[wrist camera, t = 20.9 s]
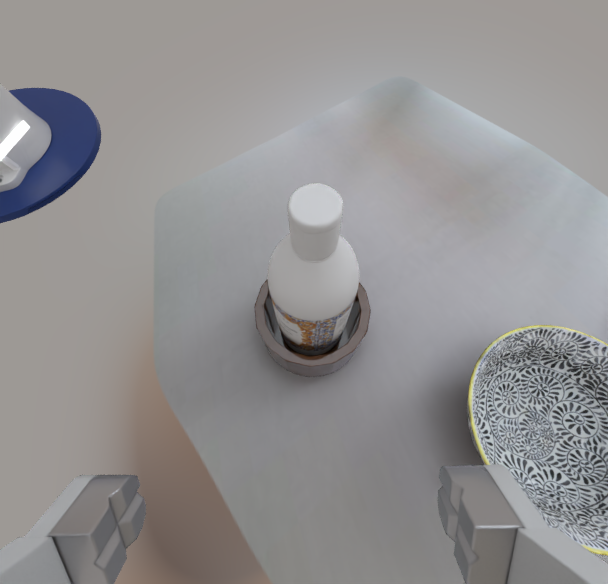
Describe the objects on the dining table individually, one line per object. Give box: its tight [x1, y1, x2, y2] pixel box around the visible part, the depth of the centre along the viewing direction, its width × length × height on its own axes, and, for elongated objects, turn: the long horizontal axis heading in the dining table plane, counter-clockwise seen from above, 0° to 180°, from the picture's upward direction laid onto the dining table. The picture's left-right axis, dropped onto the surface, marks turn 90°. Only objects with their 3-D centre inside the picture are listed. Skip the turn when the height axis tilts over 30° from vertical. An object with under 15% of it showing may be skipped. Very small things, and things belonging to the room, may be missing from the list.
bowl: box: [467, 325, 608, 555], centre depth 27 cm, size 16×16×8 cm
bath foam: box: [267, 183, 359, 356], centre depth 25 cm, size 7×7×20 cm
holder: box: [255, 280, 371, 377], centre depth 32 cm, size 11×11×6 cm
